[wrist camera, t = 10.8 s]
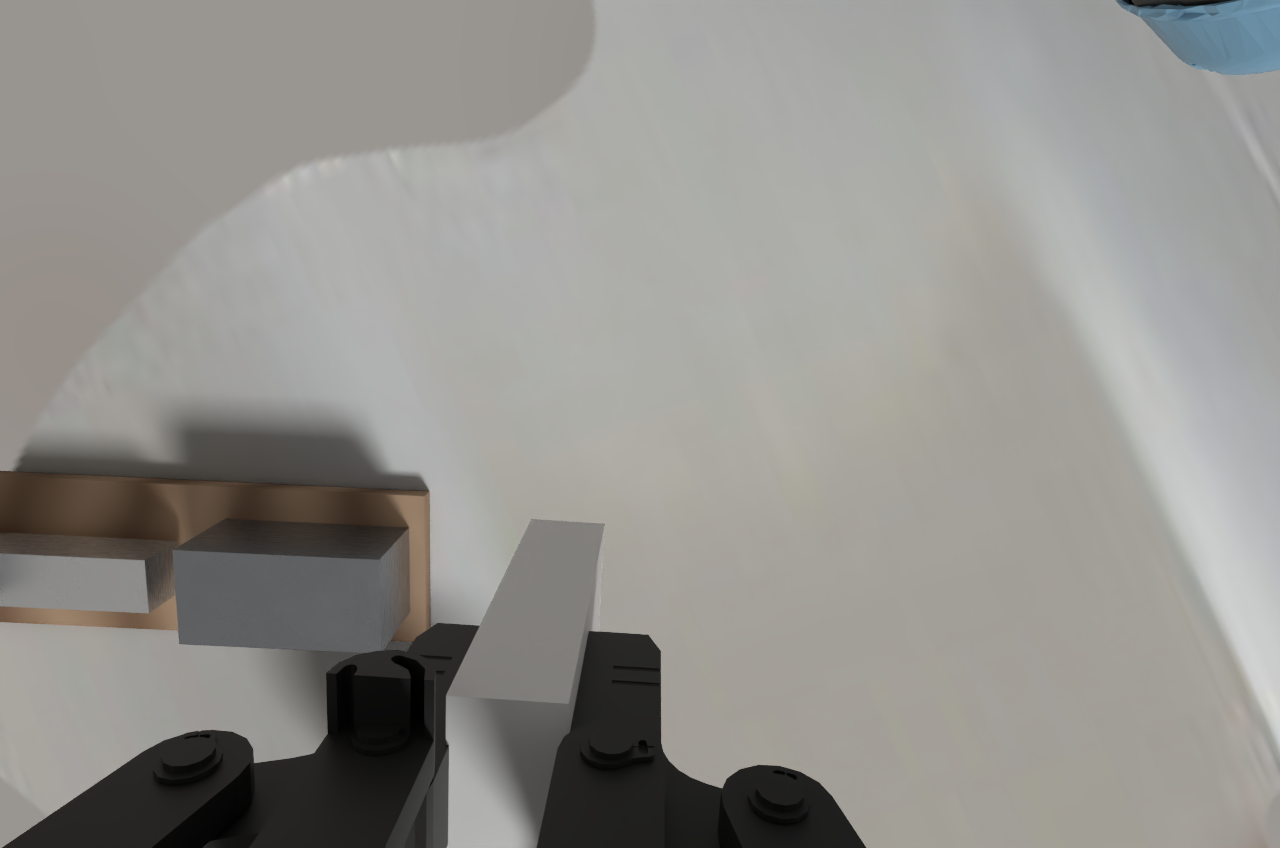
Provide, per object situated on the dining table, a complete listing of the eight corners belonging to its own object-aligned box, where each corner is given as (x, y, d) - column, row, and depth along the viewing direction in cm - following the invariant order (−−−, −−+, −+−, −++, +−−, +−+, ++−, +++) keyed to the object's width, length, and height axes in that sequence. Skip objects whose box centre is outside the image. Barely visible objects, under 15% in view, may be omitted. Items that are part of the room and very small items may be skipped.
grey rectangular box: (409, 527, 45) (379, 559, 40) (410, 611, 46) (381, 653, 41) (225, 518, 45) (172, 550, 40) (230, 603, 46) (179, 644, 41)
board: (429, 491, 46) (424, 496, 45) (430, 634, 47) (425, 642, 46) (-136, 464, 46) (-153, 468, 45) (-114, 608, 48) (-130, 615, 47)
